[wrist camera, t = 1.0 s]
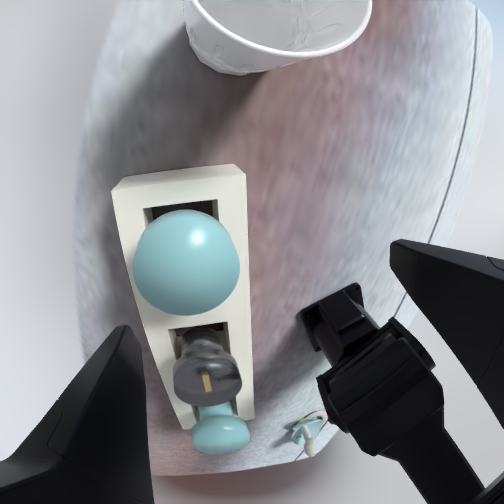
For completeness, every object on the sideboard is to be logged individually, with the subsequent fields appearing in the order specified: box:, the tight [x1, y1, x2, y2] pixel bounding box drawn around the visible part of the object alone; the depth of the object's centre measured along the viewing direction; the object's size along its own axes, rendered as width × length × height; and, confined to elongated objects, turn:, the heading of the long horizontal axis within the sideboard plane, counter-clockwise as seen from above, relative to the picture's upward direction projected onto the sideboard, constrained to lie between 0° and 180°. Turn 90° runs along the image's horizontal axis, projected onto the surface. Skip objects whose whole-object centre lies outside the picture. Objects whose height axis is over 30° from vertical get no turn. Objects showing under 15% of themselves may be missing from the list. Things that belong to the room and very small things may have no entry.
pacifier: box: [291, 411, 327, 457], centre depth 36 cm, size 7×6×6 cm
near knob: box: [133, 210, 240, 316], centre depth 16 cm, size 5×5×5 cm
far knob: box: [191, 401, 251, 455], centre depth 24 cm, size 5×5×5 cm
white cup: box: [183, 0, 372, 76], centre depth 11 cm, size 8×8×10 cm
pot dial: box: [173, 327, 242, 407], centre depth 20 cm, size 5×5×5 cm
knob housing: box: [111, 164, 255, 430], centre depth 23 cm, size 25×8×4 cm, turn 3°
